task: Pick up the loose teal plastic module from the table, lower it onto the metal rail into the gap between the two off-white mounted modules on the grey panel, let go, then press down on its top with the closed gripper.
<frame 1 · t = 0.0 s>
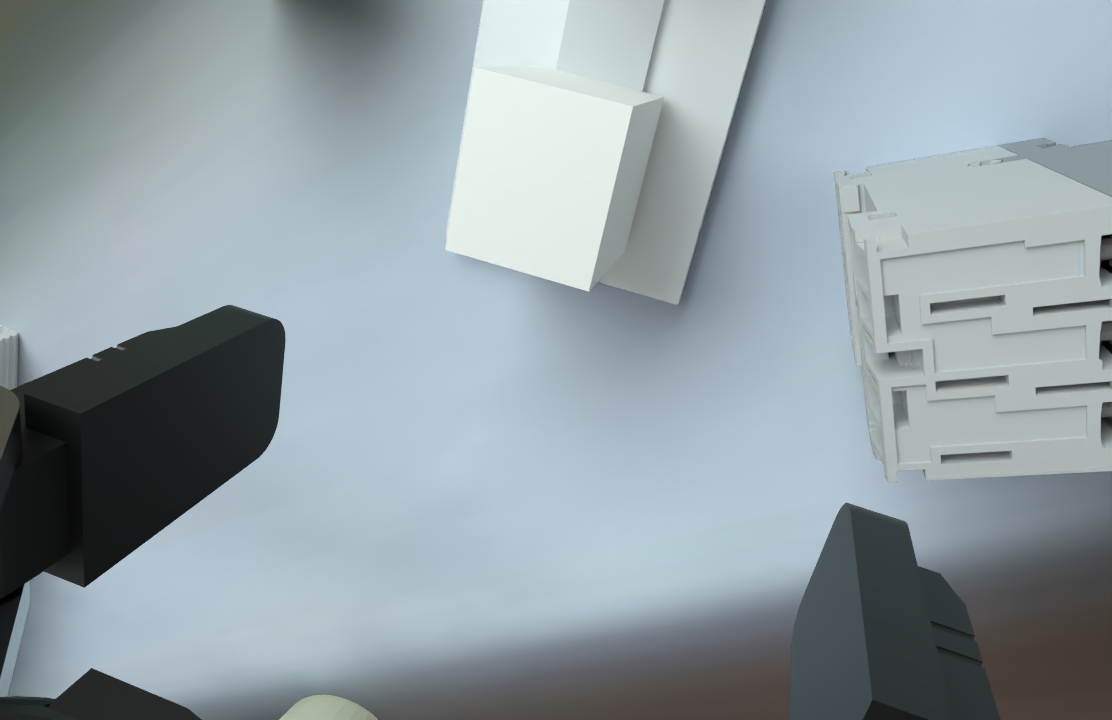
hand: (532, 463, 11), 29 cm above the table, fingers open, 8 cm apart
circuit breaker: (1016, 230, 35), on the table
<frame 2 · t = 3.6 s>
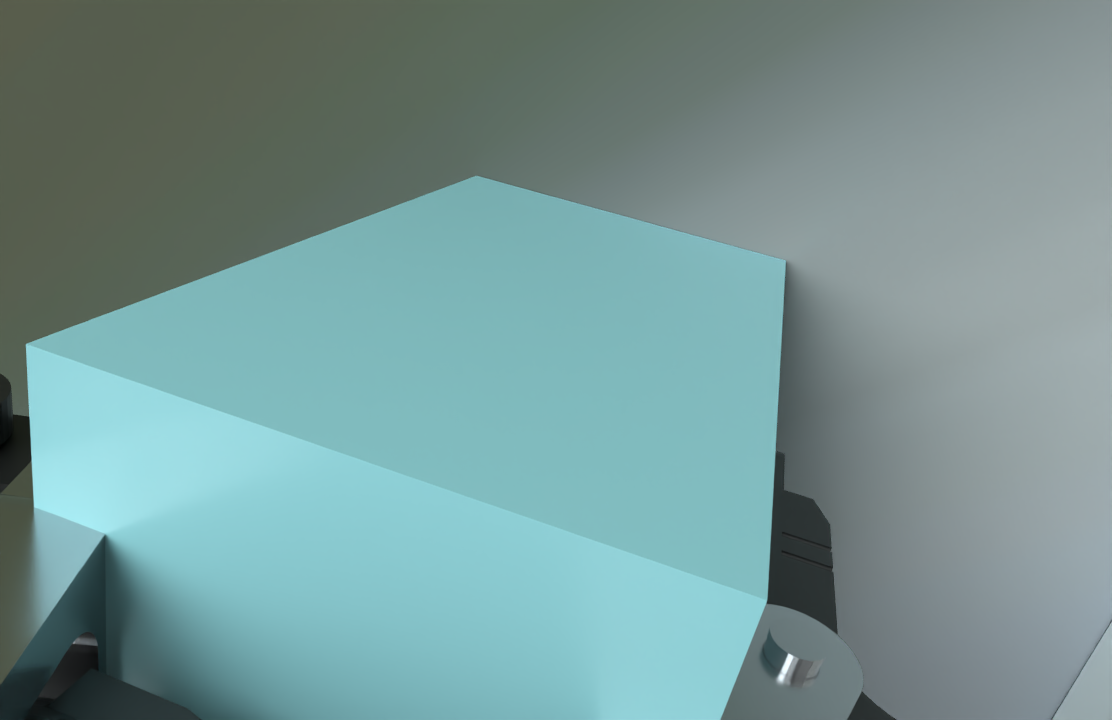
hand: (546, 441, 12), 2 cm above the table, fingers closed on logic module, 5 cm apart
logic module: (583, 388, 14), on the table, touching gripper
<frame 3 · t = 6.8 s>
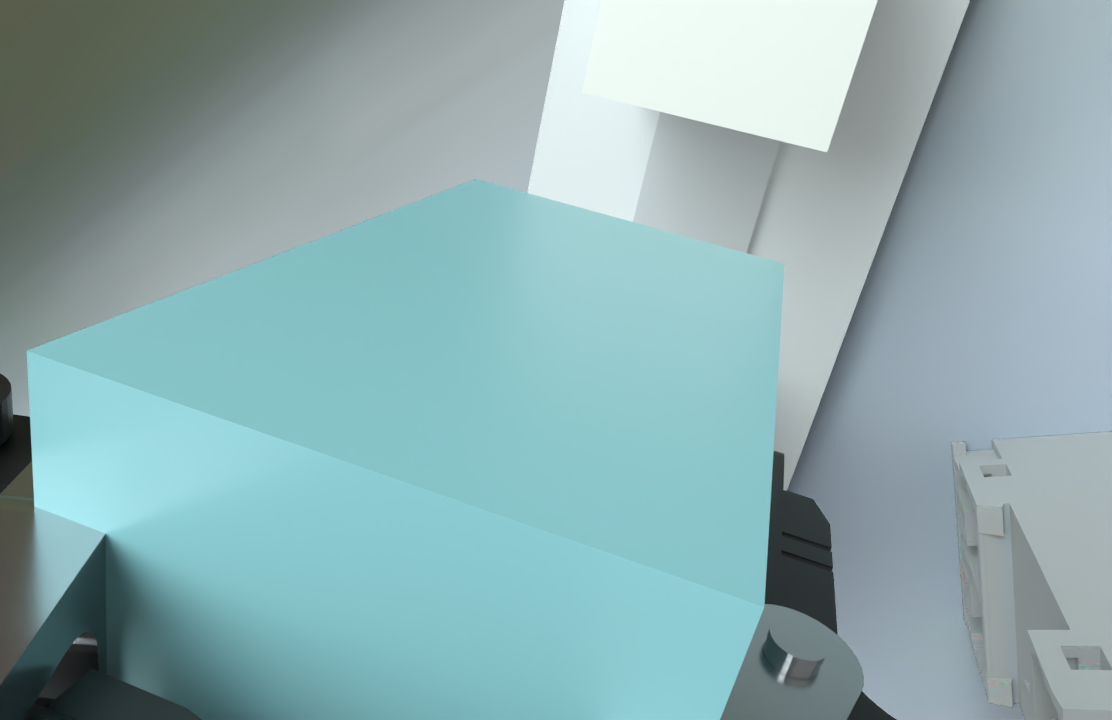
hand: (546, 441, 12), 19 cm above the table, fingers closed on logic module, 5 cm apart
rail panel: (697, 217, 29), on the table
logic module: (582, 390, 14), point 17 cm above the table, touching gripper
when the fingers open (5 cm above the table, at t = 9.9 s): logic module drops 1 cm, resting on rail panel.
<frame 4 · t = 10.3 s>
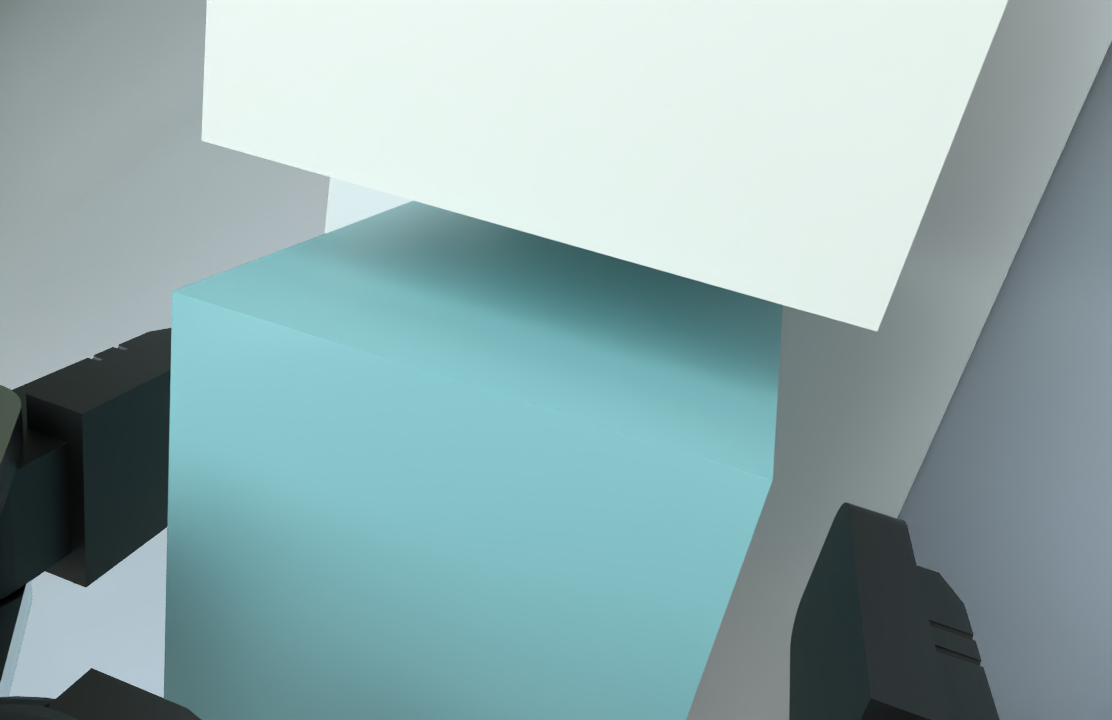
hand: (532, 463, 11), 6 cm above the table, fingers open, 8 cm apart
rail panel: (617, 333, 17), on the table
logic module: (602, 360, 15), point 2 cm above the table, touching rail panel
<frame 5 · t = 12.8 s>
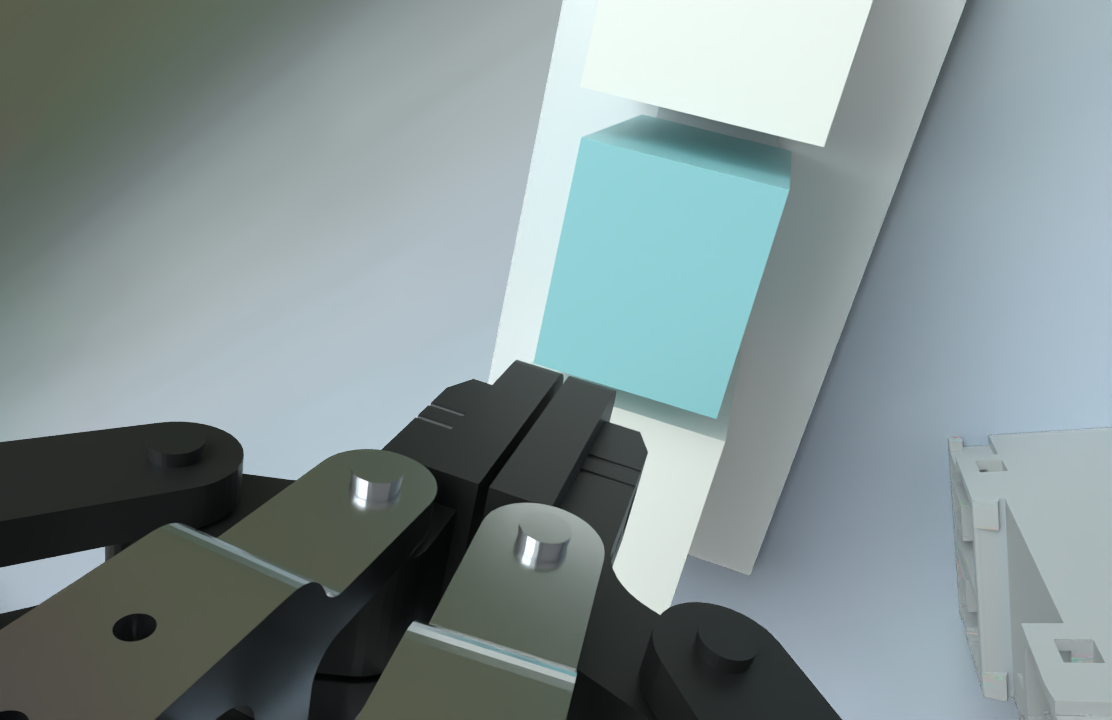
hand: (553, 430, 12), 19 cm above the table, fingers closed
rail panel: (695, 212, 29), on the table
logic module: (691, 220, 28), point 2 cm above the table, touching rail panel
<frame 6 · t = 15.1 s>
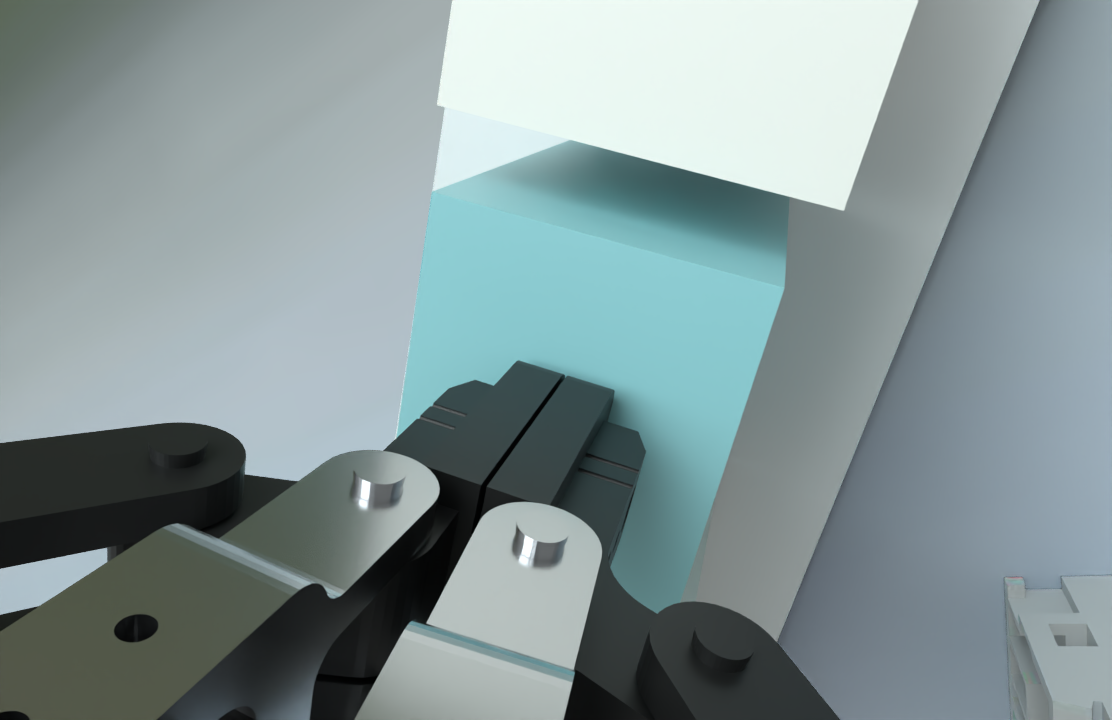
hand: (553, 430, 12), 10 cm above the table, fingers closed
rail panel: (658, 269, 21), on the table
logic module: (649, 285, 20), point 2 cm above the table, touching gripper, rail panel
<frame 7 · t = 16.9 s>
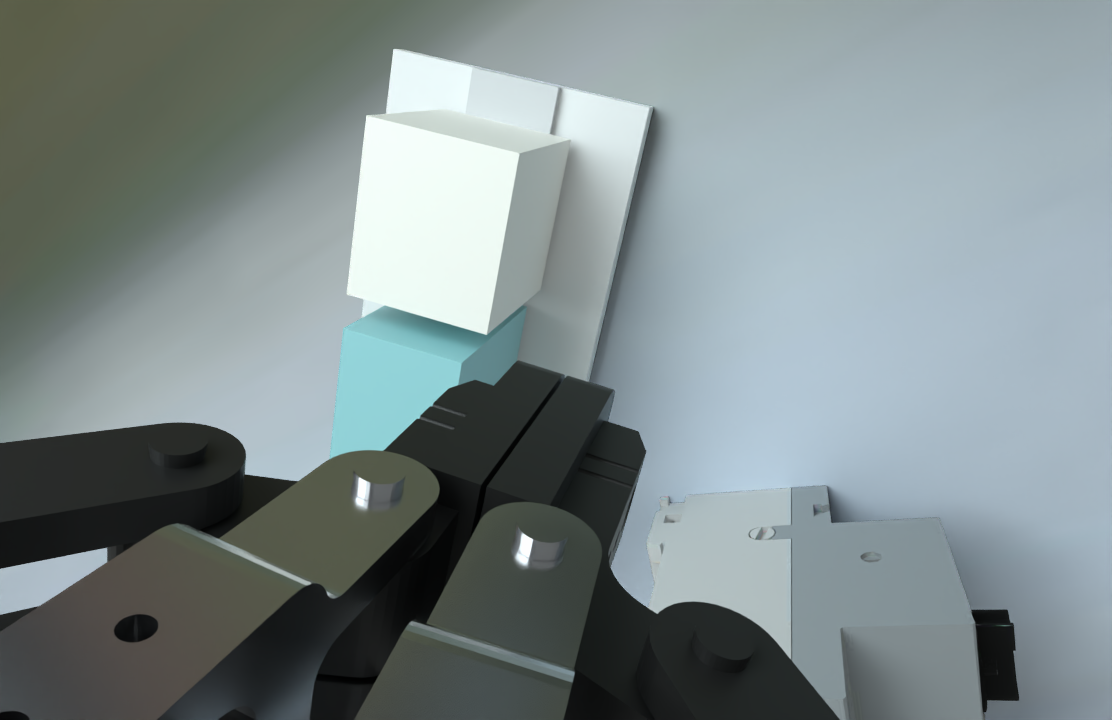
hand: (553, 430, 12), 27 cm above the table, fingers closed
circuit breaker: (814, 552, 41), on the table
rail panel: (479, 340, 42), on the table
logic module: (468, 350, 41), point 2 cm above the table, touching rail panel
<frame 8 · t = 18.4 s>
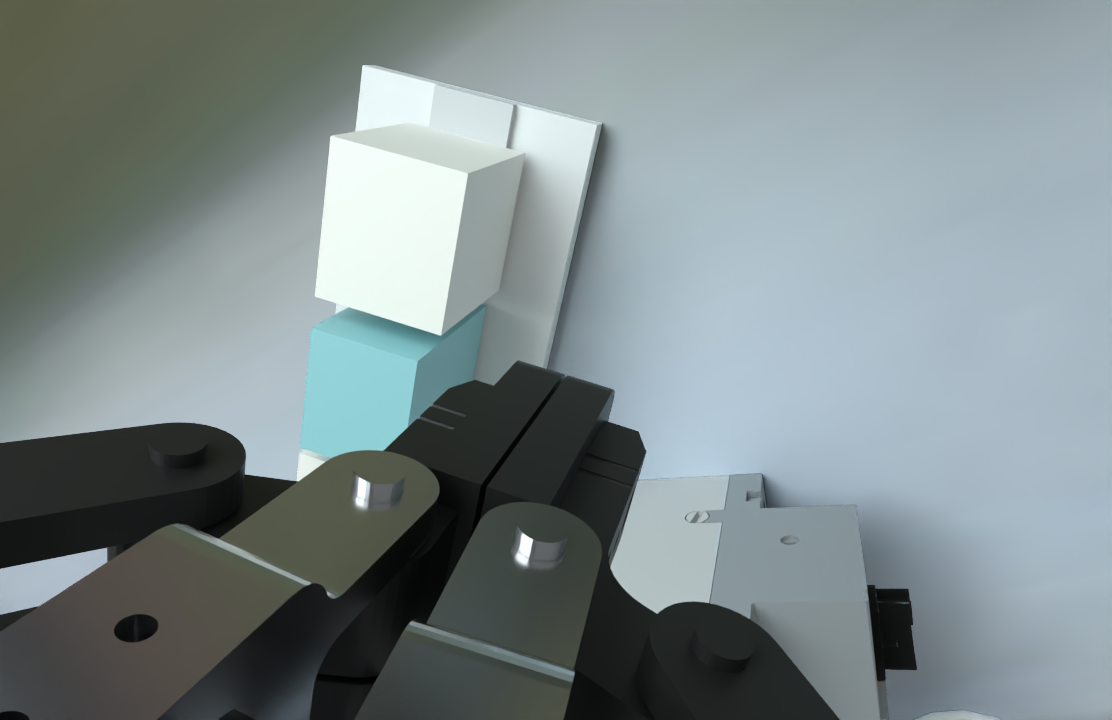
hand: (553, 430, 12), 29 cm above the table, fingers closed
circuit breaker: (751, 534, 45), on the table
rail panel: (444, 335, 45), on the table
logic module: (433, 344, 44), point 2 cm above the table, touching rail panel
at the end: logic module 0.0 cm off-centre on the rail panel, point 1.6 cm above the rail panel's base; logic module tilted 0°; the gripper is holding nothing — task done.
